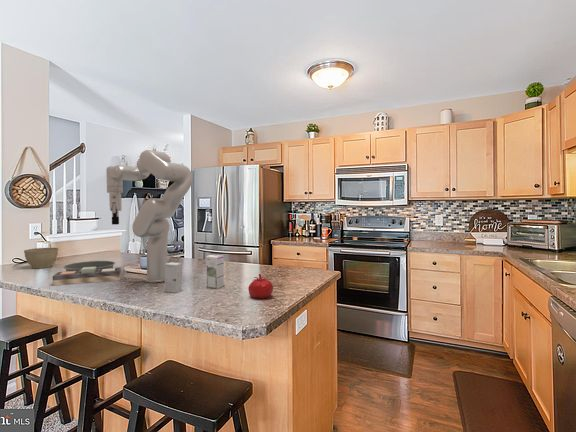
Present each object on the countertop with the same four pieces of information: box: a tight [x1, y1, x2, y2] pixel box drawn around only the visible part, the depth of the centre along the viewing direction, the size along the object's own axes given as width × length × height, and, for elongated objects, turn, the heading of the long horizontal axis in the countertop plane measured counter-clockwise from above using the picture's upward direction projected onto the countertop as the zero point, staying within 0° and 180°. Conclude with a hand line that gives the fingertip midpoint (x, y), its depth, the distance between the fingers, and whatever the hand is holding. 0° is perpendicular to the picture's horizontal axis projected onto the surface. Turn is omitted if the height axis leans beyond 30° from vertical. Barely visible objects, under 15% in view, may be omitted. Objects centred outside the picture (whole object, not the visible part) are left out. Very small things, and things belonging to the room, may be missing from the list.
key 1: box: [60, 271, 76, 275], centre depth 150 cm, size 6×6×2 cm
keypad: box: [52, 267, 122, 287], centre depth 154 cm, size 27×10×4 cm, turn 114°
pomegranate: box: [247, 273, 274, 299], centre depth 127 cm, size 10×10×9 cm
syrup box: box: [206, 253, 225, 290], centre depth 142 cm, size 6×6×14 cm
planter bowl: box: [23, 247, 59, 269], centre depth 187 cm, size 16×16×11 cm
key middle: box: [81, 267, 96, 273], centre depth 154 cm, size 6×6×2 cm
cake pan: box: [63, 260, 116, 271], centre depth 175 cm, size 25×25×4 cm
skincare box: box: [164, 261, 183, 294], centre depth 135 cm, size 6×4×12 cm
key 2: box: [101, 267, 116, 272], centre depth 157 cm, size 6×6×2 cm
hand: (115, 224), depth 167 cm, fingers closed
